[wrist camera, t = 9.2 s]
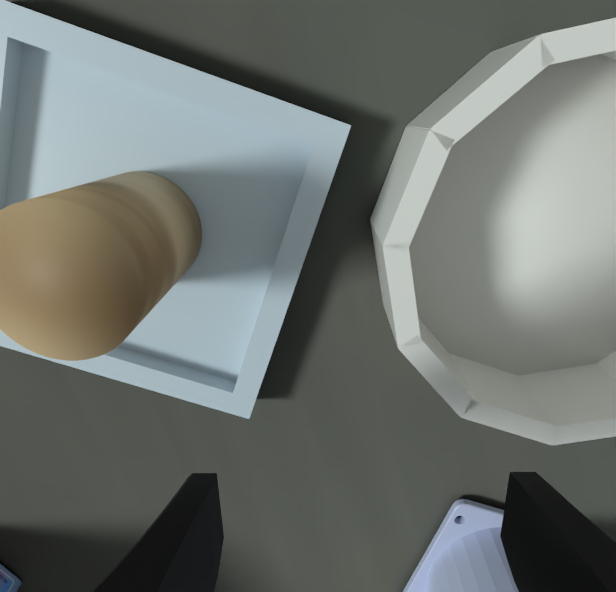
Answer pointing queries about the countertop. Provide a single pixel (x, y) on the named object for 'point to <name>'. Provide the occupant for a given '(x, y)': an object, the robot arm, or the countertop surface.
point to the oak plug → (92, 262)
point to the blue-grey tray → (184, 173)
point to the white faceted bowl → (511, 238)
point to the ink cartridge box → (8, 580)
